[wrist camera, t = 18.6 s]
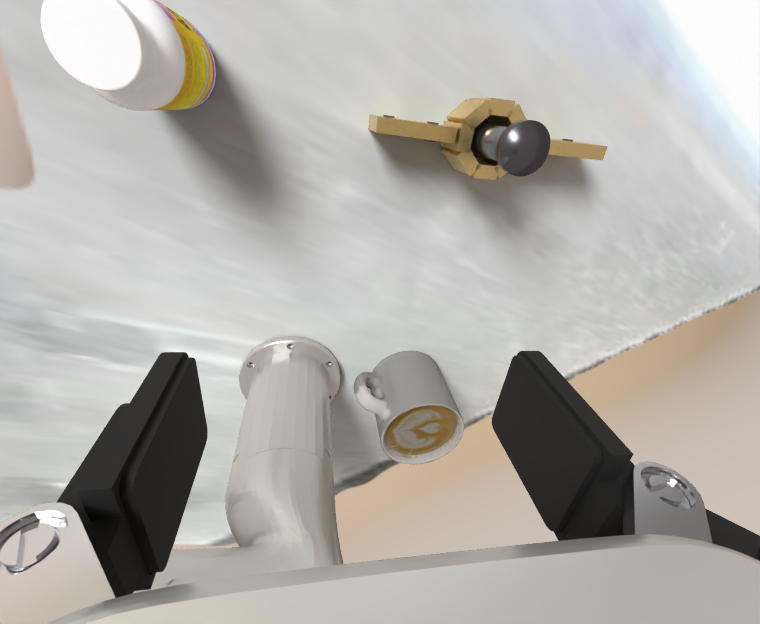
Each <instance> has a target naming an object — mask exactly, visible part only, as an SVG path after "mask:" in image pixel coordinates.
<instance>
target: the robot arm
mask: <svg viewBox="0 0 760 624" xmlns="http://www.w3.org/2000/svg"><path fill="white" fill-rule="evenodd" d="M340 381H341V378H340V369H339V365H338V363H337V360H336V359H335V357H334V356H333V355H332V353H331V352H330V351H329V350H328V349H326V348H325V347H324V346H322V345H320V344H319V343H317V342H314V341H312V340H309V339H305V338H300V337H282V338H276V339H273V340H269V341H267V342H265V343H263V344H260V345H259V346H257V347H256V348H255V349H253V350H252V351H251V352H250V353H249V354H248V356H247V357H246V359H245V360H244V362H243V364H242V367H241V370H240V376H239V383H240V388H241V391H242V393H243V395H244V396H245V398H246V399H247V403H246V407H245V411H244V416H243V420H242V424H241V429H240V433H239V437H238V442H237V446H236V451H235V455H234V459H233V464H232V468H231V472H230V477H229V481H228V486H227V491H226V497H225V509H226V515H227V520H228V523H229V526H230V529H231V531H232V534H233V536H234V538H235V540H236V541H237V543H238V545H239V547H234V548H231V549H172V547H173V544H174V541H175V538H176V535H177V532H178V528H179V525H180V522H181V519H182V516H183V513H184V510H185V507H186V504H187V501H188V497H189V494H190V491H191V488H192V485H193V482H194V479H195V476H196V473H197V469H198V466H199V463H200V460H201V457H202V454H203V451H204V448H205V445H206V441H207V424H206V418H205V412H204V407H203V401H202V395H201V389H200V383H199V378H198V372H197V366H196V361H195V359H194V358H188V355H187V353H185V352H165V353H161V354H160V355H159V357H158V359H157V360H156V362H155V363H154V365H153V367H152V368H151V370H150V371H149V373H148V375H147V376H146V378H145V380H144V381H143V383H142V384H141V386H140V388H139V389H138V391H137V393H136V394H135V396H134V397H133V399H132V401H131V402H130V403H128V404H122V405H121V406H119V408H118V409H117V410H116V411H115V413H114V414H113V416H112V418H111V419H110V421H109V422H108V424H107V425H106V427H105V428H104V430H103V431H102V433H101V435H100V436H99V438H98V439H97V441H96V442H95V444H94V445H93V447H92V448H91V450H90V451H89V453H88V455H87V456H86V458H85V459H84V461H83V462H82V464H81V465H80V467H79V468H78V470H77V472H76V473H75V475H74V476H73V478H72V479H71V481H70V482H69V484H68V485H67V487H66V489H65V490H64V492H63V493H62V495H61V496H60V498H59V499H58V501H57V502H56V503H45V504H41V505H36V506H33V507H31V508H28V509H26V510H23V511H21V512H19V513H17V514H15V515H13V516H12V517H10V518H8V519H7V520H5V521H4V522H2V523H1V524H0V624H760V536H759V535H757V534H755V533H753V532H751V531H749V530H747V529H745V528H743V527H741V526H739V525H737V524H735V523H733V522H731V521H729V520H727V519H725V518H723V517H721V516H719V515H717V514H715V513H713V512H711V511H709V510H707V509H705V506H704V502H703V500H702V497H701V495H700V493H699V492H698V491H697V490H696V488H695V487H694V486H693V485H692V484H691V483H690V482H689V481H688V480H687V479H686V478H684V477H683V476H681V475H680V474H679V473H677V472H676V471H674V470H672V469H670V468H668V467H666V466H664V465H661V464H658V463H655V462H648V461H645V462H639V463H638V464H637V465H635V466H634V464H633V463H632V462H631V461H630V459H631V457H632V456H633V453H632V452H631V451H630V450H629V449H628V448H627V447H626V446H625V444H624V443H623V442H622V441H621V440H620V439H619V438H618V437H617V436H616V435H615V433H614V432H613V431H612V430H611V429H610V428H609V427H608V426H607V425H606V423H605V422H604V421H603V420H602V419H601V418H600V417H599V416H598V415H597V414H596V412H595V411H594V410H593V409H592V408H591V407H590V406H589V405H588V404H587V402H586V401H585V400H584V399H583V398H582V397H581V396H580V395H579V394H578V393H577V391H576V390H575V389H574V388H573V387H572V386H571V385H570V384H569V383H568V381H567V380H566V379H565V378H564V377H563V376H562V375H561V374H560V373H559V372H558V370H557V369H556V368H555V367H554V366H553V365H552V364H551V363H550V362H549V361H548V359H547V358H546V357H545V356H544V355H543V354H542V353H541V352H540V351H520V352H519V353H518V354H517V356H514V357H513V359H512V361H511V364H510V367H509V370H508V373H507V376H506V379H505V382H504V384H503V387H502V390H501V393H500V396H499V399H498V402H497V405H496V408H495V411H494V414H493V417H492V426H493V429H494V431H495V433H496V435H497V437H498V438H499V440H500V442H501V444H502V446H503V447H504V449H505V451H506V453H507V455H508V457H509V458H510V460H511V462H512V464H513V466H514V468H515V469H516V471H517V473H518V475H519V477H520V479H521V480H522V482H523V484H524V486H525V488H526V490H527V491H528V493H529V495H530V497H531V499H532V500H533V502H534V504H535V506H536V508H537V510H538V512H539V513H540V515H541V517H542V519H543V521H544V522H545V524H546V526H547V527H548V528H549V529H550V530H551V531H554V533H555V535H556V537H557V538H558V540H559V541H554V542H544V543H535V544H526V545H515V546H506V547H496V548H486V549H477V550H468V551H459V552H450V553H441V554H431V555H423V556H413V557H404V558H395V559H386V560H378V561H368V562H360V563H351V564H343V560H342V555H341V550H340V544H339V539H338V532H337V523H336V513H335V499H334V481H333V460H332V439H331V419H330V402H331V401H332V400H333V398H334V397H335V396H336V394H337V392H338V389H339V387H340Z"/></svg>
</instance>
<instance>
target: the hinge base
mask: <svg viewBox="0 0 760 624" xmlns="http://www.w3.org/2000/svg"><path fill="white" fill-rule="evenodd" d="M447 118H448V120H449V121H450V122H449V121H444V126H448V127H454V128H458V130H457V135H456V140H455V143H447V142H441V144H440V146H443V147H444V148H443V149H442V150H441V151H442V152H443V154H444V155H445V157H446V158H447V160H448V161H449V163H450V165H451V166H452V168H454V169H456V170H457V171H460V172H462V173H464V174H466V175H468V176H470V177H472V178H477V179H488V180H496V178H502V177H503V176H504V175H505V174H506V173H507V172H505V171H504V170H502V169H501V168H500V166H499V164H498V162H497V160H493V159H490V158H487V157H484V156H481V155H480V156H479V157H478V158H475V156H474V155H473V153H472V151H471V150H470V148H471V143H472V138H473V133H474V128H476V127H477V126H478V125H479V124H480V123H481V122H483V121H484V120H485V119H486V118H487V119H488V121H489V123H490V125H496V126H504V127H508V126H509V125H511V124H512V123H514V122H517V121H520V120H527V119H526V117H525V115H524V113H523V111H522V109H521V107H520V105H519V104H515V101H510V100H502V99H495V98H474V99H469V100H465V101H464V102H462V103H461V104H460V105H459V106H458V107H457V108H456V109H455V110H453V111H452V112H451V113H450V114H449V115H448V116H447ZM607 147H608V146H601V145H595V144H588V143H581V142H574V141H573V140H569V139H563V140H557V139H550V149H549V153H548V155H557V156H567V157H576V158H586V159H595V160H603V158H604V155H605V152H606V149H607Z"/></svg>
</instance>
